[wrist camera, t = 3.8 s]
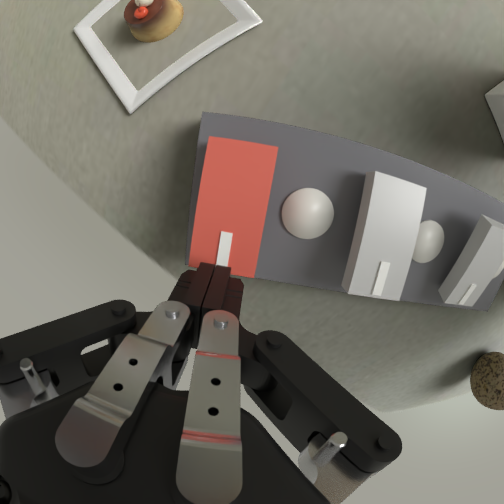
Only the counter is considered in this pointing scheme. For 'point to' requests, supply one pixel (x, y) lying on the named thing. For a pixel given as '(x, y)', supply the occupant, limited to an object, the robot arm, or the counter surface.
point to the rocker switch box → (346, 208)
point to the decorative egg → (489, 380)
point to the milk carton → (497, 105)
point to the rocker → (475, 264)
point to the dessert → (150, 30)
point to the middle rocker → (384, 237)
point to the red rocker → (232, 204)
